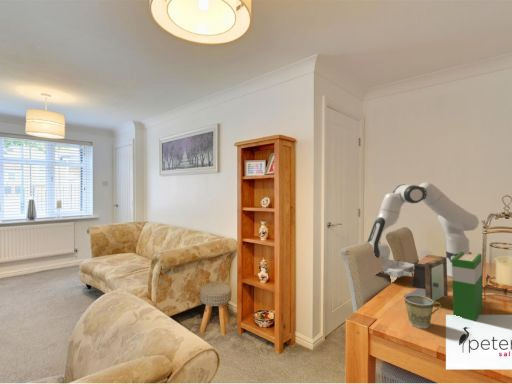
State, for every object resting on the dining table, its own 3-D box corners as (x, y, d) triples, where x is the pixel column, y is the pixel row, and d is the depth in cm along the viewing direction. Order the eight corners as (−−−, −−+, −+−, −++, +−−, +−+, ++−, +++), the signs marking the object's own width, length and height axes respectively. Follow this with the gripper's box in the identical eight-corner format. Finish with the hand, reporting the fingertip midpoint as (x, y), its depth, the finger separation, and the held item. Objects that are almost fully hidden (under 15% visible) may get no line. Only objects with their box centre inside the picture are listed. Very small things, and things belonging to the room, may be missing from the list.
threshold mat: (419, 289, 146) (419, 288, 146) (442, 295, 137) (442, 294, 137) (403, 296, 136) (403, 295, 136) (428, 303, 127) (427, 302, 127)
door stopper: (424, 289, 145) (423, 266, 145) (412, 286, 150) (411, 264, 150) (430, 285, 151) (430, 263, 150) (419, 282, 155) (418, 261, 155)
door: (441, 294, 136) (440, 262, 136) (447, 296, 133) (447, 264, 133) (429, 302, 128) (428, 268, 128) (435, 304, 126) (434, 269, 125)
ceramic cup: (411, 330, 105) (410, 304, 104) (401, 318, 114) (400, 294, 114) (448, 332, 103) (447, 305, 102) (435, 319, 112) (434, 295, 112)
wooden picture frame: (442, 294, 138) (442, 256, 138) (447, 295, 136) (446, 257, 136) (425, 304, 127) (424, 263, 127) (430, 305, 125) (429, 264, 125)
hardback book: (462, 302, 127) (461, 251, 127) (482, 307, 122) (481, 254, 122) (453, 315, 115) (452, 259, 115) (475, 321, 110) (474, 262, 110)
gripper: (382, 265, 158) (407, 271, 146) (400, 259, 169) (424, 264, 158) (382, 276, 158) (407, 282, 146) (400, 269, 169) (424, 274, 158)
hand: (416, 273), depth 152 cm, fingers open, 8 cm apart
